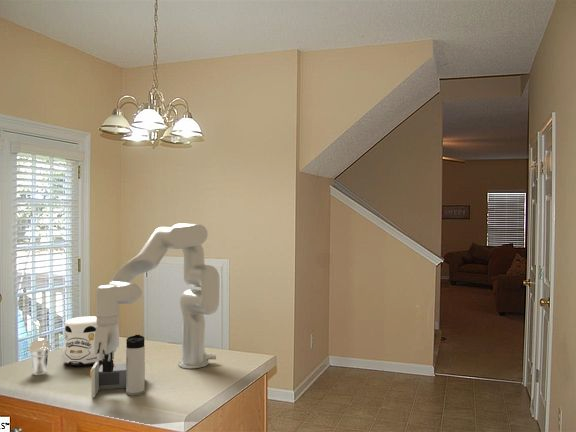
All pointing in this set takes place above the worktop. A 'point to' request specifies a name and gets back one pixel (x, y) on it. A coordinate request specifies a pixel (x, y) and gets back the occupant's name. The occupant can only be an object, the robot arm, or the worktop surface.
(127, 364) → the travel mug
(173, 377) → the worktop surface
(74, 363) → the milk container
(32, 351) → the cup with straw
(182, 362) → the robot arm
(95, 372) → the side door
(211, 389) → the worktop surface
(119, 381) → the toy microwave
